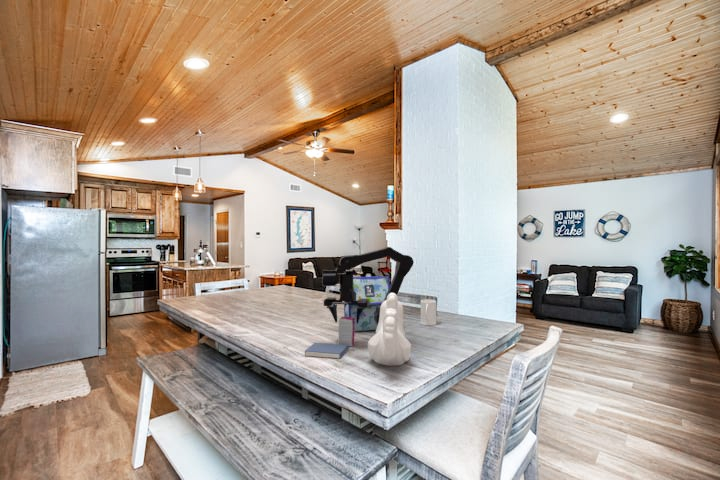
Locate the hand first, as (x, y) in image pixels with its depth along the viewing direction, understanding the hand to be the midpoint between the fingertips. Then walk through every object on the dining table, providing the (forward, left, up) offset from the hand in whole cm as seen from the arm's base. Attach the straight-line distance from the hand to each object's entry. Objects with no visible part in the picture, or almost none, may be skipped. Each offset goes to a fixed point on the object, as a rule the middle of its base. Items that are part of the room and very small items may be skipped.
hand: (346, 322), depth 145 cm
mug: (-32, -45, -10) cm, 56 cm away
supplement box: (0, 0, -10) cm, 10 cm away
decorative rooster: (-20, +19, -10) cm, 29 cm away
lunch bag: (-3, -29, -10) cm, 31 cm away
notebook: (+5, +11, -9) cm, 15 cm away
